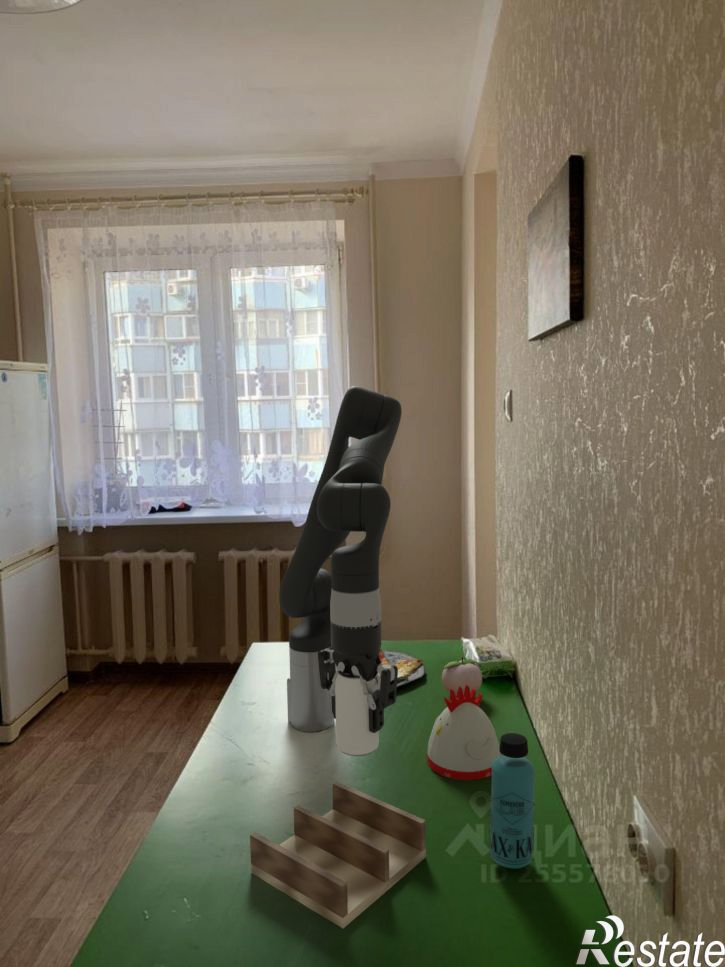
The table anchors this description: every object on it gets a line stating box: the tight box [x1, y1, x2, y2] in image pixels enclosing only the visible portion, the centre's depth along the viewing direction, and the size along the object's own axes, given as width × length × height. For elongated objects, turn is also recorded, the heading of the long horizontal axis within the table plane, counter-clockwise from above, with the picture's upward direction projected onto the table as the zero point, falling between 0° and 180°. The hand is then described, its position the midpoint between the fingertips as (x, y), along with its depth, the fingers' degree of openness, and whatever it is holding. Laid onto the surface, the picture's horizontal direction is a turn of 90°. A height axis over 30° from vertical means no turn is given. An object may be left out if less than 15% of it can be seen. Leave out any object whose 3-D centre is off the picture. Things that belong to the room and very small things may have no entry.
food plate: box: [335, 648, 426, 688], centre depth 182 cm, size 25×23×4 cm
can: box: [335, 671, 380, 757], centre depth 110 cm, size 6×6×12 cm
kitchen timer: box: [426, 685, 501, 781], centre depth 138 cm, size 14×14×15 cm
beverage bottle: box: [488, 732, 536, 869], centre depth 107 cm, size 6×7×20 cm
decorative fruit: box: [441, 656, 483, 697], centre depth 166 cm, size 9×8×10 cm
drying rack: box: [249, 780, 427, 929], centre depth 108 cm, size 18×19×6 cm
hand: (357, 723), depth 110 cm, fingers closed on can, 6 cm apart
